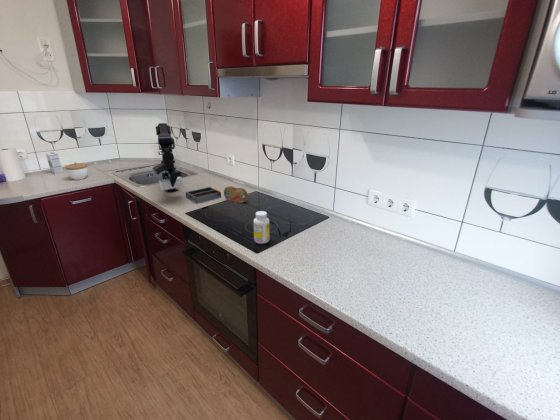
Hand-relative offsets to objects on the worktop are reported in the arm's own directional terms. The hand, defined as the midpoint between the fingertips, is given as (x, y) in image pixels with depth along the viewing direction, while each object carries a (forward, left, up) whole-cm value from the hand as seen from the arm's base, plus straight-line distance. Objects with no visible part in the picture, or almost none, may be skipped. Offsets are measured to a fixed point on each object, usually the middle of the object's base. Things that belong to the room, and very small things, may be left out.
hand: (171, 185), depth 170 cm
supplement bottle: (+72, +10, -8) cm, 73 cm away
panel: (0, 0, -1) cm, 1 cm away
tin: (+25, +27, -8) cm, 38 cm away
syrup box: (-103, -45, -8) cm, 113 cm away
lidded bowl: (-78, -35, -8) cm, 86 cm away
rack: (+8, +15, -8) cm, 19 cm away
